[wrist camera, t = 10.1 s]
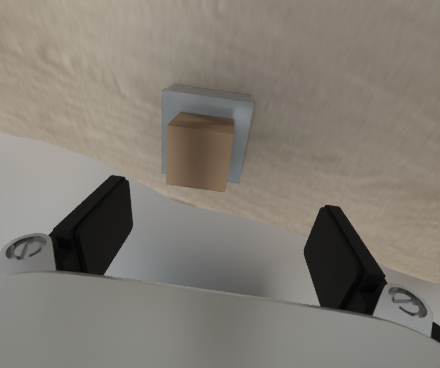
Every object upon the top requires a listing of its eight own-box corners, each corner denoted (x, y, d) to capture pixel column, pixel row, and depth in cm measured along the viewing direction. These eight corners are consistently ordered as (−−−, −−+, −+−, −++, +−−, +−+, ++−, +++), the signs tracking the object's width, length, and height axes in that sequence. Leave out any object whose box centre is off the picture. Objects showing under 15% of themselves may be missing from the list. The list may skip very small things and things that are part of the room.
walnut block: (234, 119, 26) (234, 134, 20) (226, 167, 28) (225, 192, 23) (180, 111, 26) (166, 125, 20) (178, 160, 28) (166, 184, 23)
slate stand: (250, 95, 30) (254, 102, 25) (238, 164, 35) (239, 183, 29) (174, 84, 30) (162, 89, 25) (172, 155, 35) (161, 173, 29)
